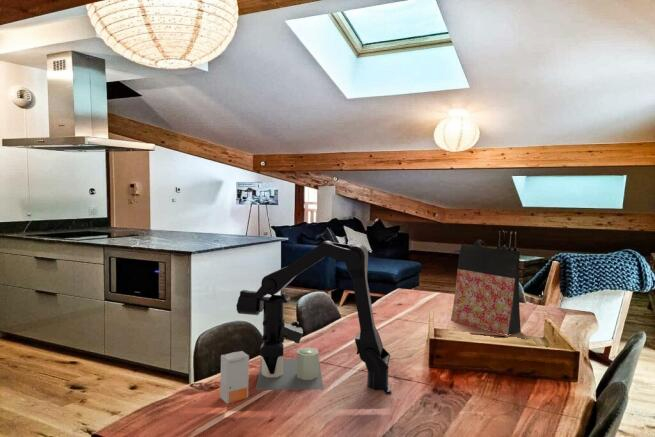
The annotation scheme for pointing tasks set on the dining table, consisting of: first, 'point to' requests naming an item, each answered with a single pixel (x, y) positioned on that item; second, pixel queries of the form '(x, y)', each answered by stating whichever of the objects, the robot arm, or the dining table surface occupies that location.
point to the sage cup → (307, 363)
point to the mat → (288, 379)
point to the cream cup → (277, 370)
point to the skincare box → (234, 376)
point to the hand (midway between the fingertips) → (272, 369)
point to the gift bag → (487, 288)
